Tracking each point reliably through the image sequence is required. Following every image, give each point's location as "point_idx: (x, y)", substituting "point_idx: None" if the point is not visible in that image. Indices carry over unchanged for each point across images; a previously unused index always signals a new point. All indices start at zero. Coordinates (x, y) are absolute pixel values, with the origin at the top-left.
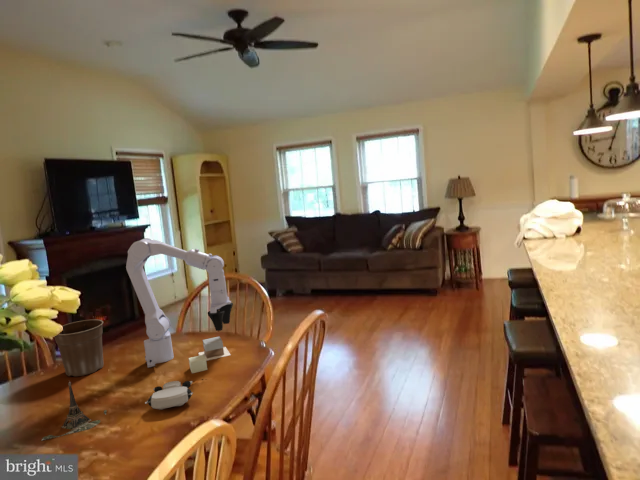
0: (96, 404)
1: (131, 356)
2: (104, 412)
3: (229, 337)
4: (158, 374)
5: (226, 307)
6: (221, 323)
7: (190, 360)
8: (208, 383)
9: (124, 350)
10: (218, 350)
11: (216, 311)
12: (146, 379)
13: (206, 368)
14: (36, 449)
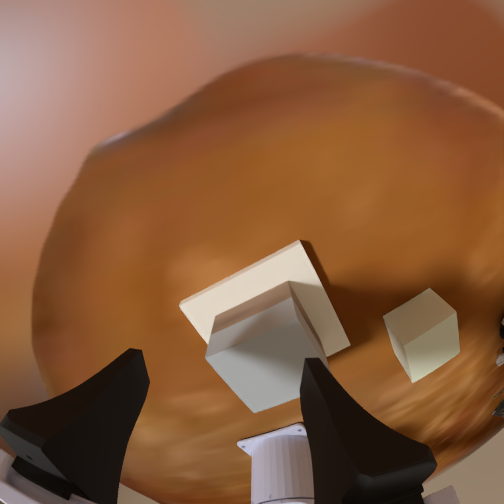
0: (466, 424)
1: (235, 490)
2: (499, 393)
3: (63, 316)
4: (384, 417)
5: (82, 460)
6: (345, 392)
7: (440, 364)
8: (498, 249)
9: (197, 499)
10: (302, 312)
11: (438, 499)
12: (402, 422)
13: (437, 296)
14: None
